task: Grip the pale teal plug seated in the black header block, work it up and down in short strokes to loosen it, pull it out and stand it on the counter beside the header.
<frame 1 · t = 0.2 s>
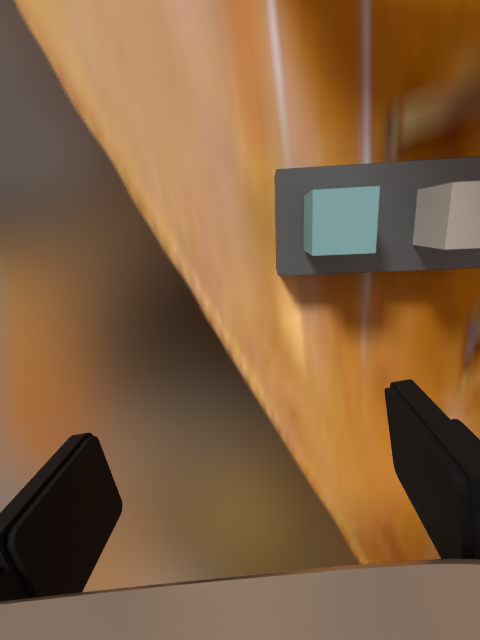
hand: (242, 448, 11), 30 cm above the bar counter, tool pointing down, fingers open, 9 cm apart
header block: (367, 219, 37), on the bar counter
teal plug: (320, 222, 37), resting in header block
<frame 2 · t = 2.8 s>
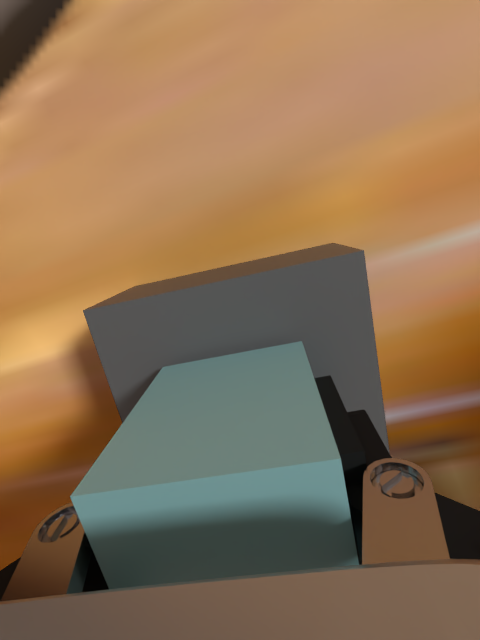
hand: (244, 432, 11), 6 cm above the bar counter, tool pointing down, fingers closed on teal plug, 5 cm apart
header block: (270, 440, 19), on the bar counter
teal plug: (251, 359, 18), resting in header block, touching gripper
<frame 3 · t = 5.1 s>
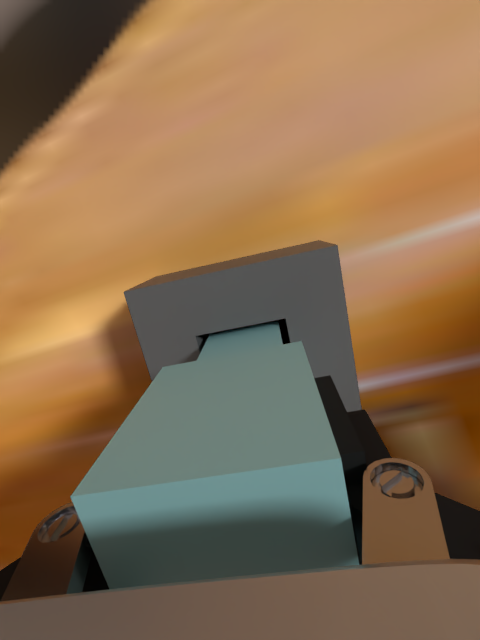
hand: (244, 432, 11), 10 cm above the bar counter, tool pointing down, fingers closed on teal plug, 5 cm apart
header block: (268, 406, 22), on the bar counter
teal plug: (250, 359, 18), point 4 cm above the bar counter, touching gripper
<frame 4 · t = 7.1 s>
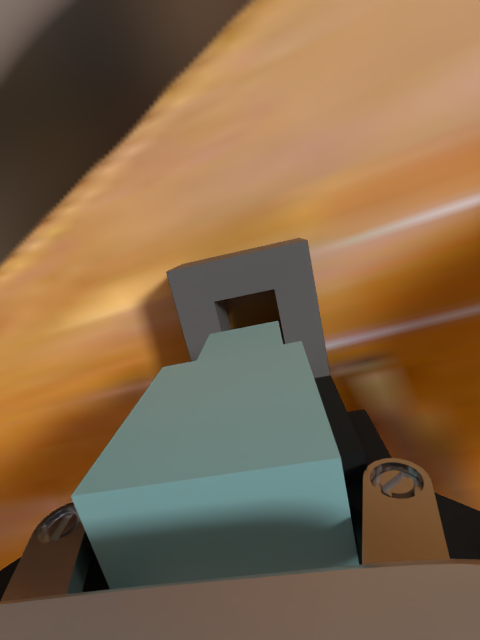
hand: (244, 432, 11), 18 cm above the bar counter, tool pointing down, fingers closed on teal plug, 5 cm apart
header block: (263, 361, 30), on the bar counter
teal plug: (250, 359, 18), point 12 cm above the bar counter, touching gripper
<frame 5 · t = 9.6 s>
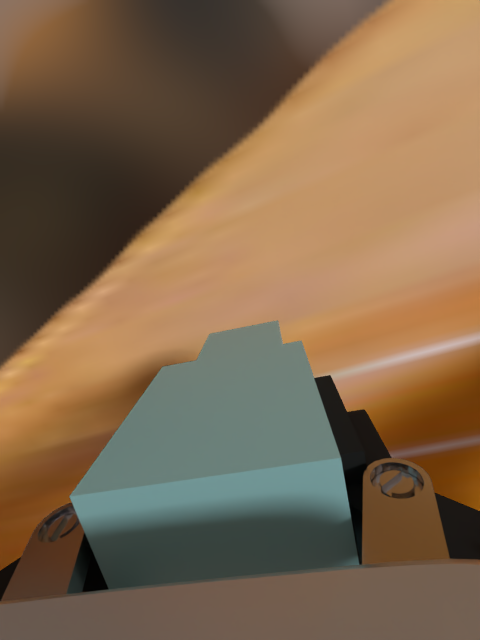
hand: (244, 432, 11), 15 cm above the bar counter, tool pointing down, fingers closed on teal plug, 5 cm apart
teal plug: (250, 359, 18), point 9 cm above the bar counter, touching gripper
when the fingers open (8 cm above the bar counter, at t = 11.5 s): teal plug drops 1 cm, on the bar counter.
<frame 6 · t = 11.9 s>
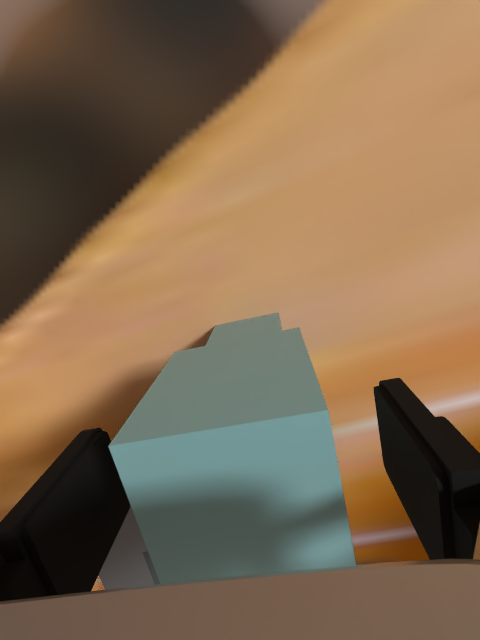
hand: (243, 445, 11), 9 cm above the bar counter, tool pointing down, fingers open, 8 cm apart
header block: (226, 561, 23), on the bar counter
teal plug: (253, 349, 19), on the bar counter
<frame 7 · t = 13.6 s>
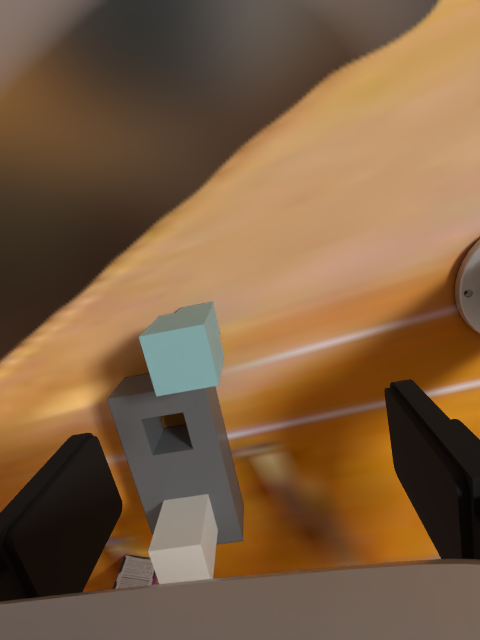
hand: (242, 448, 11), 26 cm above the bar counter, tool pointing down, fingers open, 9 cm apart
candy bar box: (140, 583, 47), on the bar counter
header block: (187, 445, 41), on the bar counter
teal plug: (200, 320, 36), on the bar counter
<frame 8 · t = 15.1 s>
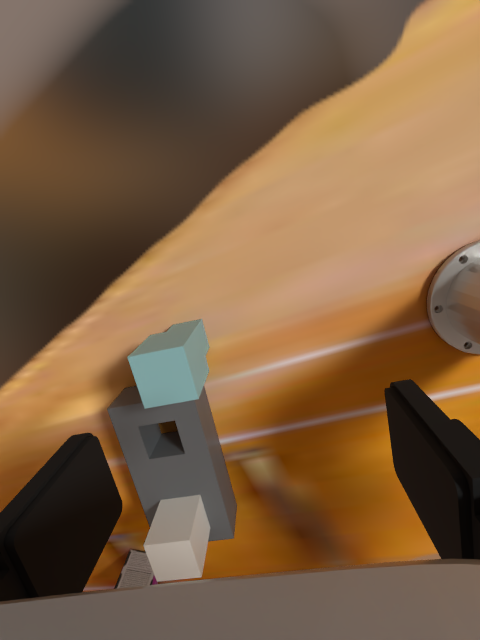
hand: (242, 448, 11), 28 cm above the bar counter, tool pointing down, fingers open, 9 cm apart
candy bar box: (144, 576, 51), on the bar counter
header block: (183, 449, 44), on the bar counter
teal plug: (191, 336, 40), on the bar counter
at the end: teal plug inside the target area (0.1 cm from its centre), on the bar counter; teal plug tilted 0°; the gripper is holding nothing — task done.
